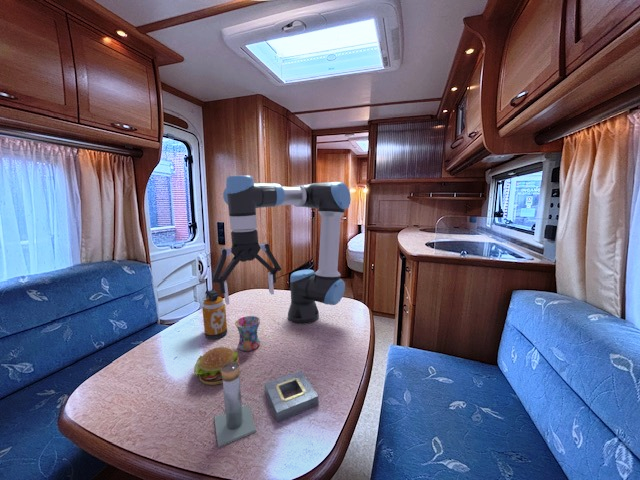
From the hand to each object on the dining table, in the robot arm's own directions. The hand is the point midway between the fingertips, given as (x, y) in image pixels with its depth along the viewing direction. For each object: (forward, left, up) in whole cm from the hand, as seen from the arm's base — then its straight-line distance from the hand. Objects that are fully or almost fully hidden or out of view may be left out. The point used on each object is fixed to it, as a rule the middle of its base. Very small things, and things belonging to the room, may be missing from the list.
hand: (250, 297), depth 79 cm
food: (+11, -8, -28) cm, 31 cm away
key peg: (+9, +15, -27) cm, 32 cm away
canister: (+9, -36, -28) cm, 47 cm away
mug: (-3, -20, -28) cm, 35 cm away
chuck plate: (-7, +14, -28) cm, 32 cm away
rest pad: (+9, +15, -28) cm, 33 cm away
